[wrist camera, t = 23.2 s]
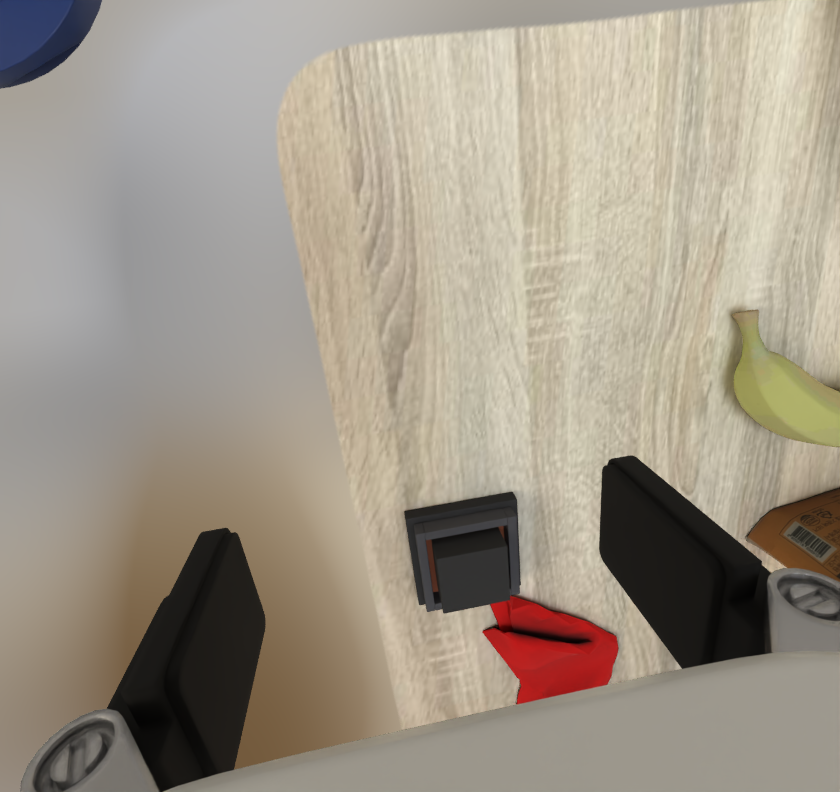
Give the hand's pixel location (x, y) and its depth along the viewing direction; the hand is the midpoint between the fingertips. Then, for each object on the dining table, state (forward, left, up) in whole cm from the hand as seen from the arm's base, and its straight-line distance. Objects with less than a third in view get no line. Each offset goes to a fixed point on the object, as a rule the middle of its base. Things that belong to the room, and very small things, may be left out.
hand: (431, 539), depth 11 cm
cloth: (-1, -42, -24) cm, 48 cm away
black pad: (-3, -22, -23) cm, 32 cm away
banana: (+32, -21, -24) cm, 45 cm away
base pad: (-3, -22, -24) cm, 33 cm away
